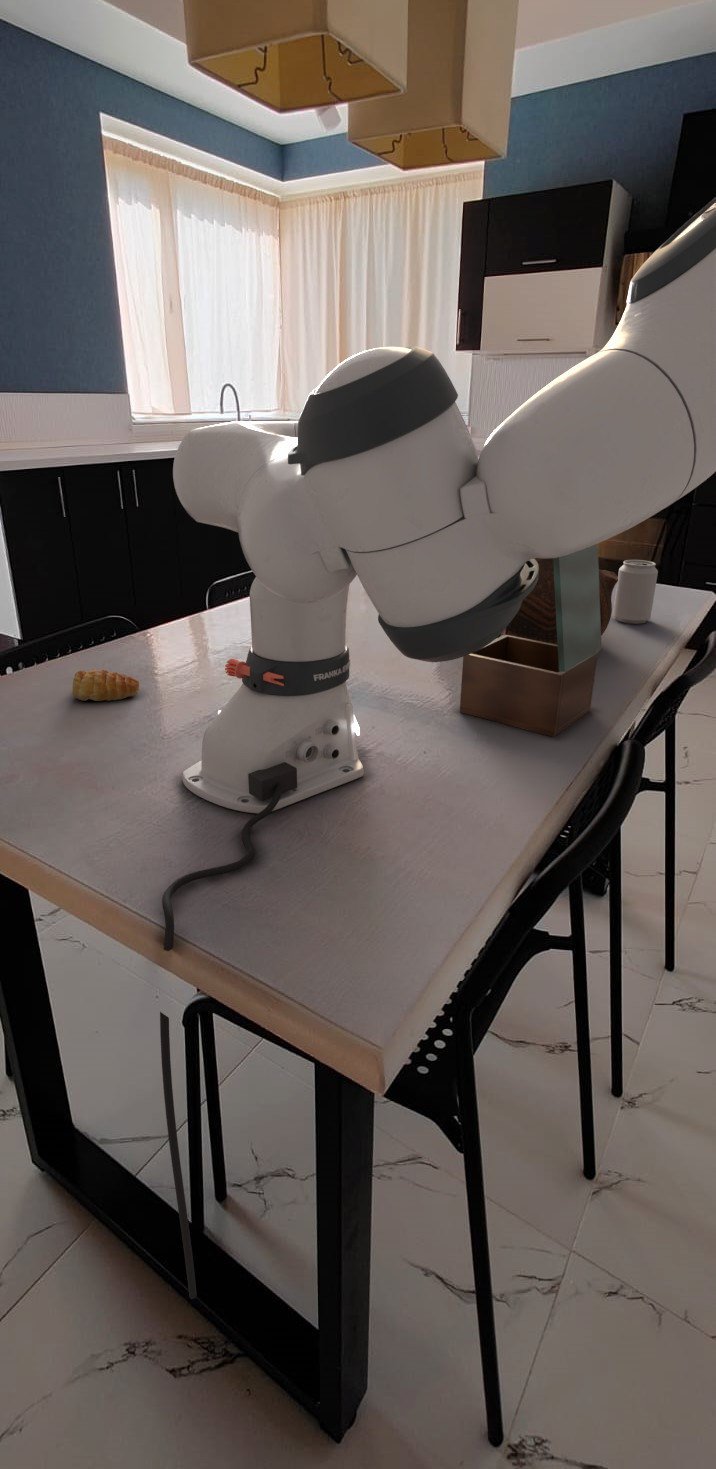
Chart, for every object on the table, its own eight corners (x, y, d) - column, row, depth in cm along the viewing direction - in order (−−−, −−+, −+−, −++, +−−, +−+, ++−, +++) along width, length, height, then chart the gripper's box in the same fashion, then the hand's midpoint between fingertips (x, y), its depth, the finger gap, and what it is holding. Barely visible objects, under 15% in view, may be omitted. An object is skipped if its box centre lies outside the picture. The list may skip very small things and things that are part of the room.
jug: (562, 669, 129) (585, 482, 117) (465, 641, 144) (477, 472, 132) (632, 646, 142) (658, 475, 130) (536, 622, 157) (552, 467, 145)
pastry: (143, 686, 119) (140, 663, 118) (135, 702, 113) (132, 678, 112) (81, 688, 119) (78, 664, 117) (70, 704, 113) (66, 679, 111)
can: (653, 618, 160) (663, 560, 156) (644, 626, 155) (654, 566, 150) (617, 613, 164) (625, 556, 159) (607, 621, 158) (615, 562, 154)
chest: (459, 712, 111) (463, 653, 107) (500, 688, 120) (505, 634, 117) (553, 737, 103) (561, 675, 99) (590, 710, 112) (598, 652, 109)
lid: (552, 549, 95) (558, 549, 94) (591, 537, 104) (597, 536, 104) (558, 671, 99) (564, 671, 99) (596, 649, 109) (601, 649, 108)
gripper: (748, 319, 63) (604, 381, 74) (852, 351, 75) (714, 401, 86) (741, 238, 62) (597, 313, 73) (847, 283, 74) (709, 342, 85)
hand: (661, 361), depth 80 cm, fingers open, 8 cm apart
